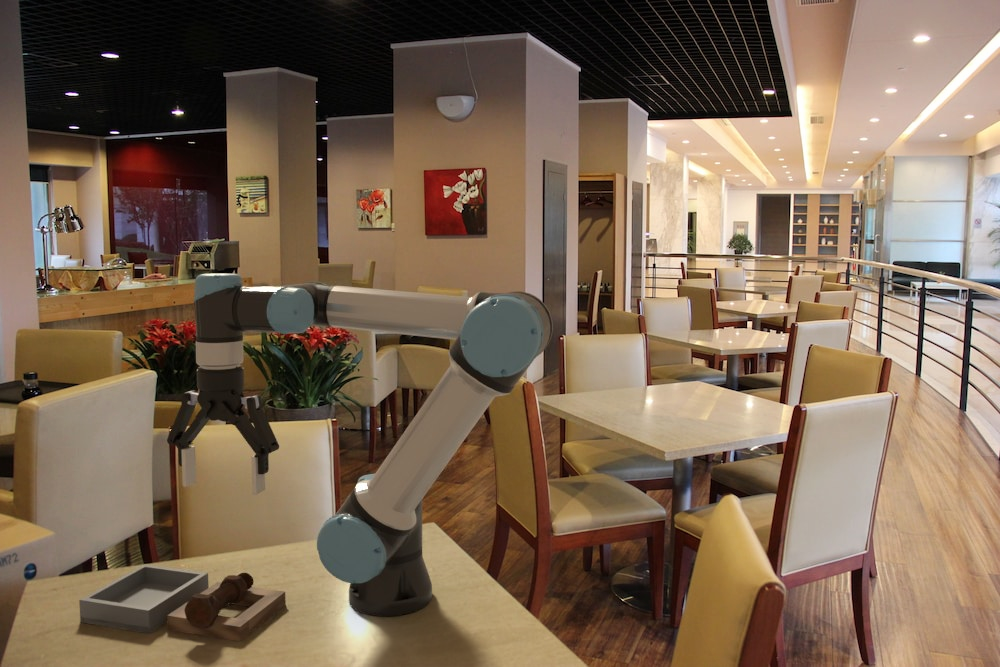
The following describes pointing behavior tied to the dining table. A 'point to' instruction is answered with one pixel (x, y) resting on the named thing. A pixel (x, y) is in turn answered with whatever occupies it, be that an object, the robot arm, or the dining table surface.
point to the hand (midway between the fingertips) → (223, 488)
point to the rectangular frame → (233, 628)
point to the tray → (142, 598)
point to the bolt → (217, 600)
